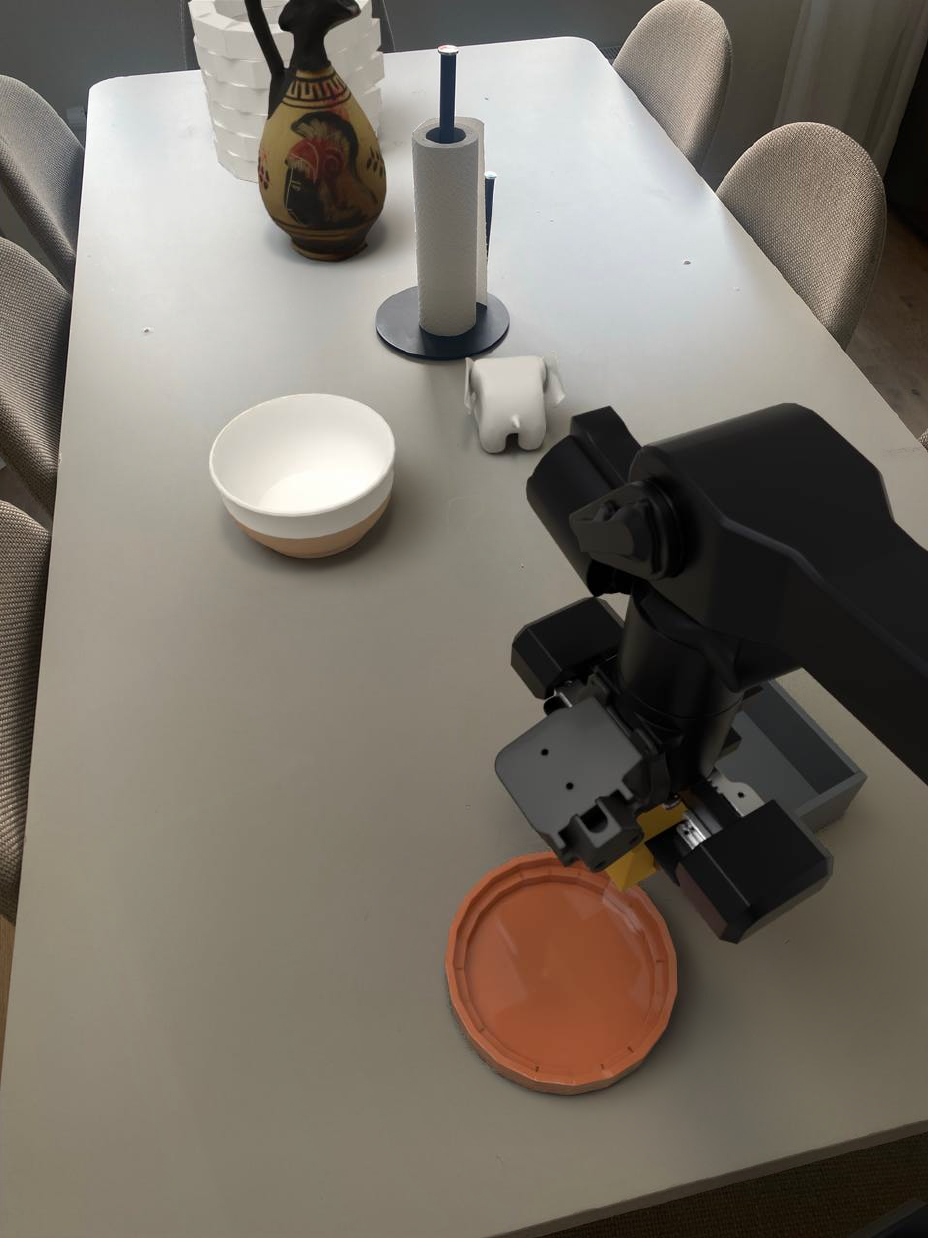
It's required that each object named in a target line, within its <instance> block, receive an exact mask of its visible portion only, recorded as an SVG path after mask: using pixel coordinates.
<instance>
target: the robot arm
mask: <svg viewBox="0 0 928 1238" xmlns="http://www.w3.org/2000/svg"><path fill="white" fill-rule="evenodd" d="M525 495H526V500H527V502H528V504H529V506H530V508H531V509H532V511H533V512H534V514H535V515H536V517H537V518H538V519H539V521H540V522H541V524H542V525H543V527H544V528H545V530H546V531H547V533H548V534H549V535H550V537H551V538H552V540H553V541H554V542H555V544H556V545H557V547H558V548H559V550H560V551H561V553H562V554H563V556H564V557H565V559H566V560H567V561H568V562H569V564H570V566H571V568H573V570H574V571H575V573H576V574H577V576H578V577H579V579H580V580H581V582H582V583H583V584H584V586H585V588H587V590H588V592H589V593H590V594H591V596H586V597H582V598H580V599H577V600H576V601H573V602H571V603H570V604H567V605H565V606H563V607H561V608H558V609H557V610H554V611H552V612H550V613H548V614H546V615H544V616H542V617H539V618H537V619H535V620H533V621H531V622H528V623H526V624H524V625H523V626H522V627H521V629H519V631H518V632H517V633H516V634H515V635H514V638H513V640H512V642H511V648H510V649H511V651H510V666H511V667H512V669H513V670H514V672H515V673H516V674H517V676H518V677H519V678H520V680H521V681H522V683H524V685H525V686H526V688H527V689H528V690H529V692H530V693H532V695H533V697H534V698H535V699H538V700H542V701H544V703H543V705H542V708H543V709H542V710H543V712H544V714H545V715H546V716H545V717H544V718H543V719H541V720H540V721H538V722H537V723H536V724H534V725H533V726H531V727H530V728H529V729H527V730H526V731H525V732H523V733H522V734H520V735H519V736H518V737H517V738H515V739H514V740H512V741H510V742H509V743H508V744H507V745H505V746H504V747H503V748H502V749H500V750H499V752H498V753H497V755H496V756H495V760H494V765H493V768H494V772H495V774H496V776H497V778H498V780H499V781H500V783H501V784H502V786H503V788H505V791H507V794H508V795H509V796H510V797H511V799H512V800H513V802H514V803H515V805H516V806H517V808H518V809H519V811H520V812H521V814H522V815H523V816H524V818H525V819H526V821H527V822H528V824H529V825H530V827H531V828H532V829H533V830H534V832H535V833H536V834H537V835H538V836H539V837H540V839H542V840H543V841H544V842H545V844H546V845H547V846H548V847H549V848H550V849H551V851H553V852H554V853H555V855H556V856H557V858H558V859H559V860H560V862H561V863H562V865H563V866H564V867H568V866H570V865H572V864H574V863H575V862H577V861H583V862H584V864H585V865H586V867H587V868H588V869H589V870H590V872H591V873H598V872H601V871H603V870H605V869H606V868H607V867H609V866H610V865H612V864H613V863H614V862H616V861H617V860H618V859H620V858H621V857H622V856H624V855H625V854H627V853H628V852H629V851H631V850H632V849H633V848H635V847H636V846H637V845H639V844H640V842H641V841H642V840H643V839H644V835H645V833H644V831H643V829H642V827H641V826H640V825H639V823H638V822H637V818H638V816H640V815H641V814H642V813H643V812H644V813H647V812H649V811H650V810H652V809H654V808H656V807H657V806H659V805H661V806H662V807H663V808H664V809H665V810H671V809H673V808H675V807H676V806H678V805H679V804H680V803H681V802H682V803H683V804H684V805H685V807H686V808H687V809H688V810H686V811H685V812H683V814H682V817H681V821H680V822H678V823H676V824H674V825H673V826H671V827H669V828H667V829H666V830H664V831H662V832H661V833H659V834H657V835H655V836H654V837H652V838H650V839H649V840H647V841H645V842H644V845H645V846H646V847H647V849H648V850H649V851H650V853H651V854H652V855H653V867H654V868H655V869H656V872H660V871H661V870H663V871H664V873H665V874H666V875H667V876H668V878H669V879H670V880H671V881H672V883H673V884H674V885H675V886H676V887H679V888H680V889H681V892H682V893H683V894H684V895H685V897H686V899H688V901H689V902H690V903H691V905H692V906H693V907H694V909H695V911H696V912H697V913H698V914H699V915H700V917H701V918H702V919H703V920H704V922H705V923H706V924H707V926H708V927H709V929H710V930H711V931H712V933H713V934H714V935H715V936H716V938H717V939H718V940H719V941H723V942H726V943H731V944H734V945H738V944H740V943H742V942H743V941H745V940H746V939H748V938H750V937H751V936H753V935H754V934H755V933H758V931H760V930H762V929H763V928H765V927H766V926H768V925H769V924H771V923H773V922H774V921H775V920H777V919H778V918H780V917H781V916H783V915H784V914H786V913H788V912H789V911H791V910H792V909H795V907H797V906H798V905H800V904H802V903H804V902H805V901H806V900H808V899H809V898H811V897H812V896H814V895H815V894H817V893H818V892H820V891H821V890H823V888H825V885H826V884H827V883H828V882H829V880H830V879H831V878H832V876H833V873H834V863H835V856H834V855H833V854H832V852H831V851H830V850H829V849H828V848H827V847H826V846H825V845H824V843H823V842H822V841H821V840H820V839H819V838H818V837H817V836H816V834H815V833H813V832H812V831H811V830H810V829H809V828H808V827H807V826H806V825H805V823H804V822H803V821H802V820H801V819H800V818H799V817H798V816H797V815H796V813H795V812H794V811H793V810H792V809H791V808H790V807H789V806H788V804H787V803H786V802H785V801H784V800H783V799H772V800H771V801H769V802H767V803H766V804H765V803H764V801H763V800H762V799H761V798H760V797H759V796H758V795H757V793H756V792H755V791H754V790H753V789H752V788H751V787H750V786H749V785H747V784H745V783H741V782H730V781H729V780H728V779H727V778H726V777H725V775H724V774H723V773H722V772H721V771H720V770H719V768H718V767H717V766H716V765H715V764H716V762H717V761H718V760H720V759H722V758H723V757H725V756H727V755H729V754H730V753H732V752H734V751H736V750H737V749H738V747H739V745H740V743H741V741H742V737H741V736H740V735H739V734H738V733H737V732H736V731H735V730H734V729H733V727H732V726H731V725H732V723H733V720H734V718H735V715H736V713H739V712H741V711H743V710H745V709H746V708H748V707H750V706H752V705H754V704H756V703H757V702H759V699H760V697H761V695H762V693H763V690H764V689H763V688H762V687H761V686H760V684H763V683H766V682H768V681H771V680H773V679H775V680H776V679H778V678H781V677H783V676H786V675H788V674H791V673H793V672H796V671H799V670H801V669H803V670H804V671H805V672H806V673H808V675H810V676H811V678H812V679H814V680H815V681H816V682H817V683H818V684H819V685H820V686H821V687H822V688H823V689H824V690H825V691H826V692H828V694H830V696H832V697H833V698H834V699H835V700H836V701H837V702H838V703H839V704H840V705H841V706H842V707H843V708H845V710H847V712H849V714H850V715H852V716H853V718H855V719H856V720H857V721H858V722H859V723H860V724H861V725H863V726H864V728H866V729H867V730H868V732H870V733H871V734H872V735H873V736H874V737H875V738H876V739H877V740H878V741H879V742H880V743H881V744H882V745H884V747H886V749H887V750H888V751H890V752H891V753H892V754H893V755H894V756H895V757H896V758H897V759H898V760H899V761H900V762H901V763H902V764H904V766H906V767H907V768H908V769H909V770H910V771H911V772H912V773H913V774H914V775H915V776H916V777H917V778H918V779H919V780H920V781H921V782H922V783H924V785H926V786H927V787H928V550H927V549H926V548H925V547H923V546H922V545H920V543H918V542H917V541H916V540H915V539H914V538H913V537H912V536H911V535H910V534H909V533H907V531H906V530H904V529H903V527H901V526H900V525H899V523H897V521H896V520H895V519H896V518H895V515H894V512H893V508H892V505H891V501H890V497H889V494H888V491H887V486H886V483H885V479H884V475H883V474H882V472H881V471H880V469H878V467H877V466H876V465H875V464H874V463H873V462H872V461H871V460H870V459H868V458H867V457H866V456H865V455H864V454H863V453H862V452H861V451H859V450H858V448H856V447H855V446H854V445H853V444H852V443H851V442H850V441H848V440H847V438H845V437H844V436H843V435H842V434H841V433H840V432H839V431H837V430H836V429H835V428H834V427H833V426H832V425H831V424H830V423H829V422H828V421H827V420H825V419H824V417H822V416H821V415H820V414H818V413H817V412H816V411H815V410H813V409H811V408H808V407H806V406H804V405H801V404H798V403H796V402H782V403H779V404H775V405H771V406H768V407H764V408H761V409H758V410H754V411H751V412H748V413H745V414H741V415H738V416H735V417H731V418H729V419H725V420H722V421H718V422H714V423H712V424H708V425H705V426H702V427H699V428H695V429H692V430H688V431H686V432H683V433H679V434H676V435H672V436H669V437H665V438H662V439H659V440H655V441H652V442H650V443H647V444H645V445H644V444H643V446H642V445H641V444H640V443H639V441H638V440H637V439H636V438H635V437H634V436H633V434H632V433H631V432H630V430H629V428H628V426H627V425H626V423H625V421H624V420H623V418H622V417H621V416H620V415H619V414H618V412H616V409H615V410H614V408H613V407H612V405H606V406H602V407H599V408H596V409H593V410H589V411H586V412H582V413H579V414H575V415H573V416H571V417H570V422H569V432H568V434H567V435H566V436H564V437H563V438H562V439H560V440H559V441H558V442H556V443H555V444H554V445H553V446H552V447H550V449H549V450H547V452H546V453H545V454H544V455H543V456H542V457H541V459H540V460H539V462H538V463H537V465H536V466H535V467H534V470H533V472H532V474H531V475H530V476H529V477H528V478H527V480H526V485H525ZM619 593H620V594H621V595H626V596H629V598H628V603H627V608H626V613H625V618H624V619H623V618H622V617H621V616H620V614H619V613H617V611H616V610H615V609H614V608H613V607H612V606H611V605H610V603H609V602H608V601H607V600H605V599H603V598H600V597H602V596H604V595H615V594H619ZM737 710H738V711H737ZM675 796H677V797H675ZM846 1238H928V1202H924V1201H922V1200H920V1199H918V1198H916V1197H912V1198H911V1199H910V1200H908V1201H906V1202H904V1203H902V1204H901V1205H899V1206H897V1207H895V1208H894V1209H893V1210H891V1211H889V1212H888V1213H885V1214H884V1215H882V1216H880V1217H878V1218H877V1219H875V1220H873V1221H872V1222H870V1223H869V1224H867V1225H864V1227H862V1228H861V1229H858V1230H857V1231H855V1232H853V1233H851V1234H850V1235H848V1236H846Z"/></svg>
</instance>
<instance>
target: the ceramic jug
mask: <svg viewBox="0 0 928 1238" xmlns="http://www.w3.org/2000/svg"><path fill="white" fill-rule="evenodd" d="M244 2H245V6H246V9H247V14H248V18H249V22H250V24H251V27H252V29H253V31H254V34H255V36H256V39H257V41H258V43H259V45H260V48H261V50H262V52H263V55H264V57H265V59H266V62H267V65H268V67H269V70H270V73H271V82H270V90H269V99H268V117H267V119H266V122H265V126H264V130H263V134H262V138H261V142H260V148H259V151H258V153H259V157H258V181H259V183H258V190H259V193H260V197H261V200H262V202H263V205H264V208H265V211H266V212H267V214H268V216H269V218H270V219H271V221H272V222H273V223H274V224H275V225H276V226H277V227H278V228H280V229H281V230H282V231H283V232H284V233H286V234H287V235H288V236H289V237H290V242H291V246H292V249H294V250H296V251H297V252H298V253H300V254H301V255H303V256H305V257H306V258H309V259H315V260H321V261H329V262H343V261H344V260H346V259H349V258H351V257H353V256H355V255H359V254H360V253H361V252H362V251H364V250H365V249H366V248H367V247H368V246H369V245H368V242H367V235H368V234H369V231H370V230H371V229H372V227H373V226H374V225H375V223H376V221H378V219H379V217H380V216H381V214H382V212H383V210H384V206H385V201H386V197H387V190H388V186H387V185H388V184H387V170H386V164H385V159H384V157H383V155H382V151H381V146H380V143H379V140H378V137H376V135H375V132H374V130H373V128H372V126H371V124H370V122H369V120H368V118H367V117H366V115H365V113H364V111H363V110H362V108H361V107H360V105H359V104H358V102H357V101H356V99H355V98H354V96H353V94H352V93H351V91H350V89H349V88H348V86H347V85H346V84H345V83H344V81H343V80H342V79H341V78H340V76H339V75H338V74H337V72H336V71H335V69H334V67H333V66H332V64H331V61H330V60H328V58H327V54H326V51H325V47H324V37H325V36H326V34H327V33H328V32H329V31H330V30H332V29H333V28H335V27H337V26H339V25H341V24H343V23H345V22H347V21H349V20H351V19H354V18H356V17H357V16H359V15H360V14H361V9H360V7H359V5H358V3H357V2H356V1H355V0H290V1H289V2H288V3H287V4H286V5H285V6H284V8H283V11H282V12H281V14H280V16H279V19H278V24H279V27H280V29H281V30H283V31H285V32H290V33H292V34H293V39H294V48H293V53H292V56H291V59H290V63H289V67H288V68H285V67H284V63H283V60H282V58H281V55H280V53H279V51H278V48H277V46H276V44H275V41H274V39H273V36H272V34H271V31H270V28H269V25H268V22H267V19H266V17H265V14H264V11H263V9H262V5H261V0H244Z"/></svg>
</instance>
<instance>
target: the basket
mask: <svg viewBox="0 0 928 1238" xmlns="http://www.w3.org/2000/svg"><path fill="white" fill-rule="evenodd" d="M289 1H290V0H261V5H262V9H263V11H264V14H265V17H266V19H267V22H268V25H269V28H270V31H271V34H272V36H273V39H274V41H275V44H276V46H277V48H278V51H279V53H280V55H281V58H282V60H283V63H284V67H285V68H288V67H289V63H290V59H291V56H292V53H293V48H294V39H293V34H292V33H290V32H285V31H283V30H281V29H280V27H279V24H278V19H279V16H280V14H281V12H282V11H283V8H284V6H285V5H286V4H287V3H288V2H289ZM355 1H356V2H357V3H358V5H359V7H360V9H361V14H360V15H359V16H357V17H356V18H354V19H351V20H349V21H347V22H345V23H343V24H341V25H339V26H337V27H335V28H333V29H332V30H330V31H329V32H328V33H327V34H326V36H325V37H324V47H325V51H326V54H327V58H328V60H330V61H331V64H332V66H333V67H334V69H335V71H336V72H337V74H338V75H339V76H340V78H341V79H342V80H343V81H344V83H345V84H346V85H347V86H348V88H349V89H350V91H351V93H352V94H353V96H354V98H355V99H356V101H357V102H358V104H359V105H360V107H361V108H362V110H363V111H364V113H365V115H366V117H367V118H368V120H369V122H370V124H371V126H372V128H373V130H374V132H375V135H376V137H377V138H378V136H379V135H378V128H379V127H380V114H382V113H383V105H382V90H381V87H379V86H377V85H376V84H377V83H379V82H381V81H382V80H383V79H384V78H385V75H386V74H385V62H384V60H385V59H384V52H383V51H378V50H379V48H380V47H381V46H382V37H381V36H382V35H381V21H380V18H378V17H377V18H376V17H372V14H373V6H372V0H355ZM187 5H188V9H189V14H190V15H189V16H190V19H191V23H192V28H193V32H194V37H193V41H192V42H193V45H194V48H195V55H196V60H197V63H198V66H199V68H200V72H201V79H202V82H203V84H204V86H205V90H204V96H205V100H206V105H207V109H208V114H209V117H210V121H211V126H212V131H213V132H214V137H213V142H214V147H215V153H216V157H217V162H218V164H220V165H221V166H222V167H224V168H225V169H226V170H227V171H228V172H229V173H230V174H231V175H233V176H234V177H235V178H236V179H239V180H245V181H248V182H252V183H257V184H259V181H258V157H259V153H258V151H259V148H260V142H261V138H262V134H263V130H264V126H265V122H266V119H267V117H268V99H269V90H270V82H271V73H270V70H269V67H268V65H267V62H266V59H265V57H264V55H263V52H262V50H261V48H260V45H259V43H258V41H257V39H256V36H255V34H254V31H253V29H252V27H251V24H250V22H249V18H248V14H247V9H246V6H245V2H244V0H190V1H189V2H187Z"/></svg>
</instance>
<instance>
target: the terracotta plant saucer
mask: <svg viewBox="0 0 928 1238" xmlns="http://www.w3.org/2000/svg"><path fill="white" fill-rule="evenodd" d="M446 944H447V945H446V951H445V959H444V960H445V961H444V969H445V970H444V971H445V980H446V985H447V991H448V996H449V997H448V998H449V1003H450V1008H451V1012H452V1014H453V1016H454V1018H455V1020H456V1022H457V1024H458V1026H459V1027H460V1029H461V1031H462V1033H463V1035H464V1037H465V1039H466V1041H467V1043H468V1044H469V1045H470V1048H472V1049H473V1050H474V1051H475V1052H476V1053H477V1054H478V1055H479V1057H481V1058H482V1059H483V1060H484V1062H486V1063H487V1064H488V1065H489V1066H490V1067H491V1069H493V1071H495V1072H496V1073H498V1074H499V1075H501V1076H502V1077H505V1078H507V1079H508V1080H511V1081H513V1082H514V1083H517V1084H518V1085H521V1086H523V1087H525V1088H527V1089H529V1090H531V1091H534V1092H542V1093H550V1094H557V1095H564V1096H574V1095H578V1094H583V1093H588V1092H593V1091H597V1090H601V1089H606V1088H608V1087H610V1086H612V1085H613V1084H615V1083H616V1082H618V1081H620V1080H621V1079H623V1078H624V1077H626V1076H628V1075H629V1074H631V1073H632V1072H633V1071H635V1070H637V1069H638V1068H639V1067H640V1066H641V1065H642V1063H643V1062H645V1060H646V1058H647V1057H648V1055H649V1054H650V1053H651V1051H652V1050H653V1049H654V1047H655V1046H656V1045H657V1043H658V1042H659V1041H660V1039H661V1038H662V1036H663V1034H664V1033H665V1030H666V1029H667V1027H668V1024H669V1020H670V1017H671V1014H672V1011H673V1008H674V1004H675V1000H676V998H677V995H678V964H677V963H678V959H677V951H676V949H675V945H674V943H673V940H672V937H671V934H670V932H669V928H668V925H667V922H666V920H665V918H664V917H663V915H662V914H661V912H660V911H659V910H658V908H657V907H656V905H655V904H654V903H653V901H652V900H651V898H650V897H649V895H648V894H647V893H646V892H645V890H644V889H643V888H642V887H640V886H639V885H638V883H636V884H635V885H633V886H631V887H630V888H628V889H626V890H625V891H623V892H620V890H619V889H618V887H617V886H616V885H615V883H614V882H613V880H612V879H611V878H610V876H609V875H608V873H607V872H606V871H605V870H603V871H601V872H598V873H591V872H590V870H589V869H588V868H587V867H586V865H585V864H584V862H583V861H577V862H575V863H574V864H572V865H570V866H568V867H564V866H563V865H562V863H561V862H560V860H559V859H558V858H557V856H556V855H555V853H554V852H553V850H547V851H541V852H535V853H530V854H524V855H520V856H516V857H514V858H512V859H510V860H508V861H506V862H504V863H503V864H501V865H499V866H497V867H495V868H494V869H491V870H490V871H487V873H486V874H485V875H484V876H483V877H482V878H481V879H480V880H479V881H478V882H477V883H476V884H475V885H474V886H473V887H472V888H471V889H470V890H469V891H468V892H467V894H466V895H465V896H464V897H463V899H462V900H461V903H460V905H459V907H458V909H457V911H456V914H455V915H454V918H453V920H452V922H451V924H450V926H449V929H448V937H447V943H446Z"/></svg>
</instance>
